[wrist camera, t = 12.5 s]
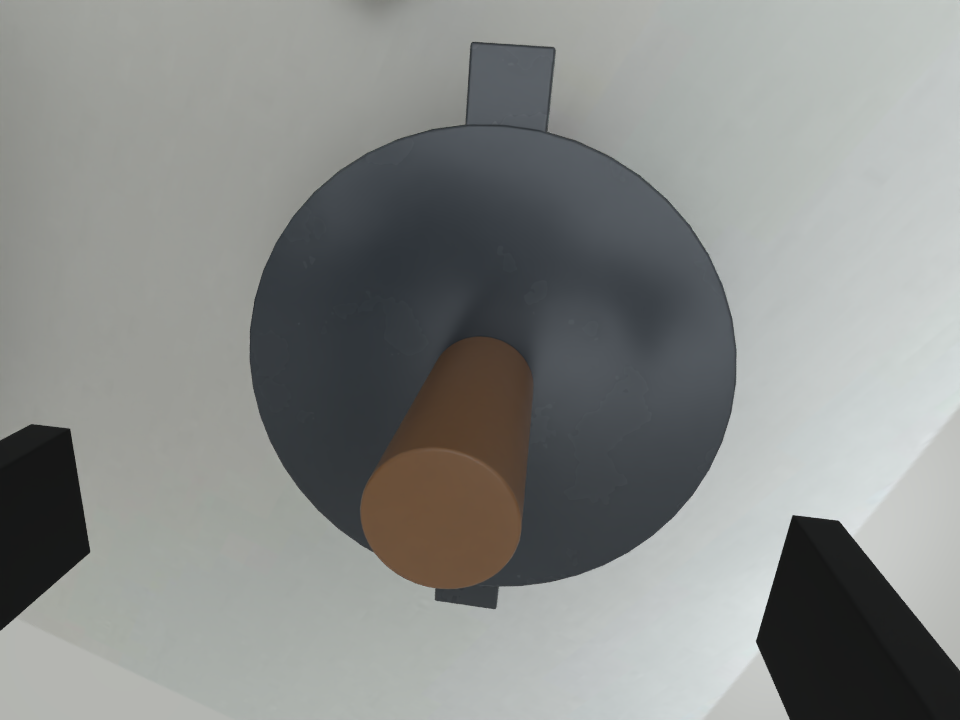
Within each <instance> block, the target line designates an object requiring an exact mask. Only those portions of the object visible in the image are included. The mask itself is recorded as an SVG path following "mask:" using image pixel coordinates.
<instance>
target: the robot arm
mask: <svg viewBox="0 0 960 720" xmlns="http://www.w3.org/2000/svg"><path fill="white" fill-rule="evenodd" d="M89 553H90V547H89V541H88V535H87V529H86V523H85V517H84V511H83V505H82V498H81V492H80V486H79V480H78V474H77V468H76V462H75V456H74V450H73V444H72V438H71V431H70V429H68V428H59V427H51V426H43V425H34V424H31V425H29V426H27V427H25V428H23V429H21V430H19V431H18V432H16V433H14V434H12V435H10V436H8V437H6V438H4V439H2V440H0V630H2V629H3V628H4V627H5V626H6V625H8V624H9V623H10V622H11V621H12V620H13V619H14V618H16V617H17V616H18V615H19V614H20V613H21V612H22V611H24V610H25V609H26V608H27V607H28V606H29V605H30V604H32V603H33V602H34V601H35V600H36V599H37V598H38V597H40V596H41V595H42V594H43V593H44V592H45V591H46V590H48V589H49V588H50V587H51V586H52V585H53V584H54V583H56V582H57V581H58V580H59V579H60V578H61V577H62V576H64V575H65V574H66V573H67V572H68V571H69V570H70V569H72V568H73V567H74V566H75V565H76V564H77V563H78V562H80V561H81V560H82V559H83V558H84V557H85V556H86V555H88V554H89ZM756 643H757V645H758V647H759V650H760V652H761V654H762V656H763V659H764V661H765V664H766V666H767V668H768V670H769V673H770V674H771V677H772V680H773V682H774V684H775V686H776V689H777V691H778V693H779V696H780V698H781V700H782V703H783V705H784V707H785V709H786V712H787V714H788V716H789V719H790V720H960V671H959V669H958V668H957V667H956V665H955V664H954V663H953V662H952V661H951V659H950V658H949V657H948V656H947V655H946V653H945V652H944V651H943V649H942V648H941V647H940V646H939V644H938V643H937V642H936V641H935V639H934V638H933V637H932V636H931V635H930V633H929V632H928V631H927V630H926V628H925V627H924V626H923V625H922V623H921V622H920V621H919V620H918V618H917V617H916V616H915V615H914V614H913V612H912V611H911V610H910V609H909V607H908V606H907V605H906V603H905V602H904V601H903V600H902V599H901V597H900V596H899V595H898V594H897V593H896V591H895V590H894V589H893V587H892V586H891V585H890V584H889V583H888V581H887V580H886V579H885V577H884V576H883V575H882V574H881V573H880V571H879V570H878V569H877V568H876V566H875V565H874V564H873V563H872V561H871V560H870V559H869V558H868V557H867V555H866V554H865V553H864V552H863V550H862V549H861V548H860V546H859V545H858V544H857V543H856V542H855V540H854V539H853V538H852V537H851V535H850V534H849V533H848V532H847V530H846V529H845V528H844V527H843V525H842V524H841V523H840V522H839V521H837V520H828V519H820V518H811V517H803V516H795V515H793V516H792V519H791V522H790V526H789V529H788V533H787V536H786V540H785V543H784V547H783V550H782V554H781V557H780V561H779V564H778V567H777V571H776V574H775V578H774V581H773V585H772V588H771V592H770V595H769V599H768V602H767V605H766V609H765V612H764V616H763V619H762V623H761V626H760V630H759V633H758V637H757V640H756Z"/></svg>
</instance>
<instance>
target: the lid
mask: <svg viewBox="0 0 960 720" xmlns="http://www.w3.org/2000/svg"><path fill="white" fill-rule="evenodd" d="M250 365H251V373H252V382H253V389H254V393H255V397H256V401H257V405H258V409H259V413H260V416H261V419H262V421H263V424H264V426H265V429H266V432H267V434H268V437H269V439H270V442H271V444H272V445H273V447H274V449H275V451H276V453H277V455H278V457H279V459H280V460H281V462H282V464H283V466H284V468H285V469H286V470H287V472H288V473H289V475H290V476H291V478H292V479H293V480H294V482H295V483H296V485H297V486H298V488H299V489H300V490H301V491H302V493H303V494H304V495H305V496H306V497H307V498H308V499H309V500H310V502H311V503H312V504H313V505H314V506H315V507H316V508H317V510H318V511H320V512H321V513H322V514H323V515H324V516H325V517H326V518H327V519H328V520H329V521H331V522H332V523H333V524H334V525H335V526H336V527H337V528H338V529H340V530H341V531H342V532H344V533H345V534H346V535H348V536H349V537H351V538H352V539H353V540H355V541H356V542H358V543H359V544H360V545H362V546H363V547H365V548H367V549H369V550H370V551H372V552H374V553H375V554H376V555H377V556H378V558H379V559H380V560H381V561H382V562H383V563H384V564H385V565H386V566H387V567H388V568H390V569H391V570H392V571H394V572H395V573H397V574H398V575H400V576H402V577H403V578H405V579H407V580H409V581H412V582H414V583H417V584H420V585H423V586H427V587H432V588H439V589H458V588H465V587H469V586H473V585H482V586H493V587H494V586H524V585H532V584H540V583H547V582H552V581H556V580H560V579H564V578H568V577H572V576H576V575H579V574H582V573H584V572H587V571H590V570H592V569H595V568H597V567H600V566H603V565H605V564H607V563H609V562H611V561H613V560H614V559H616V558H618V557H620V556H622V555H624V554H626V553H628V552H630V551H631V550H632V549H634V548H635V547H637V546H638V545H640V544H641V543H643V542H644V541H646V540H647V539H648V538H650V537H651V536H653V535H654V534H655V533H656V532H657V531H658V530H659V529H661V528H662V527H663V526H664V525H665V524H666V523H667V522H668V521H669V520H671V519H672V518H673V517H674V516H675V515H676V514H677V512H678V511H679V510H680V509H681V508H682V507H683V505H684V504H685V503H686V502H687V501H688V500H689V498H690V497H691V496H692V495H693V494H694V492H695V491H696V489H697V487H698V486H699V484H700V483H701V481H702V480H703V478H704V477H705V475H706V474H707V472H708V471H709V469H710V467H711V465H712V462H713V460H714V458H715V456H716V454H717V452H718V450H719V448H720V446H721V443H722V441H723V438H724V434H725V431H726V428H727V425H728V421H729V418H730V415H731V411H732V405H733V398H734V392H735V386H736V343H735V336H734V328H733V321H732V316H731V312H730V309H729V305H728V302H727V298H726V295H725V291H724V288H723V285H722V283H721V281H720V278H719V276H718V274H717V272H716V270H715V267H714V265H713V263H712V261H711V259H710V256H709V254H708V253H707V251H706V250H705V248H704V247H703V245H702V244H701V242H700V240H699V239H698V237H697V236H696V234H695V233H694V231H693V230H692V228H691V226H690V225H689V224H688V223H687V222H686V220H685V219H684V218H683V217H682V216H681V215H680V214H679V212H678V211H677V210H676V209H675V208H674V207H673V206H672V204H671V203H670V202H669V201H668V200H667V199H666V198H665V197H664V196H663V195H662V194H660V193H659V192H658V191H657V190H656V189H655V188H654V187H652V186H651V185H650V184H649V183H648V182H647V181H645V180H644V179H643V178H642V177H641V176H640V175H638V174H637V173H635V172H633V171H632V170H630V169H629V168H627V167H626V166H624V165H622V164H621V163H619V162H618V161H616V160H615V159H613V158H612V157H610V156H608V155H606V154H604V153H602V152H600V151H597V150H595V149H593V148H591V147H589V146H586V145H584V144H582V143H580V142H578V141H575V140H572V139H569V138H565V137H562V136H559V135H555V134H552V133H549V132H545V131H542V130H536V129H530V128H523V127H516V126H510V125H473V124H468V125H460V126H453V127H446V128H438V129H432V130H428V131H425V132H421V133H418V134H414V135H411V136H407V137H404V138H400V139H397V140H395V141H393V142H391V143H388V144H386V145H384V146H382V147H380V148H377V149H375V150H373V151H371V152H368V153H367V154H365V155H363V156H362V157H360V158H359V159H357V160H355V161H354V162H352V163H351V164H349V165H348V166H346V167H344V168H343V169H341V170H340V171H338V172H337V173H336V174H335V175H334V176H333V177H331V178H330V179H329V180H328V181H327V182H326V183H324V184H323V185H322V186H321V187H320V188H319V189H317V190H316V191H315V192H314V193H313V194H312V195H311V196H310V198H309V199H308V200H307V201H306V202H305V203H304V204H303V206H302V207H301V208H300V209H299V210H298V211H297V213H296V214H295V215H294V216H293V217H292V219H291V220H290V222H289V224H288V225H287V227H286V228H285V230H284V231H283V233H282V234H281V236H280V238H279V239H278V241H277V242H276V244H275V246H274V248H273V251H272V253H271V255H270V257H269V259H268V262H267V264H266V266H265V268H264V270H263V273H262V277H261V280H260V284H259V287H258V290H257V294H256V297H255V301H254V308H253V314H252V321H251V327H250Z"/></svg>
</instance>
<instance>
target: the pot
mask: <svg viewBox="0 0 960 720" xmlns="http://www.w3.org/2000/svg"><path fill="white" fill-rule="evenodd" d="M555 53H556V50H555V48H554V47H544V46H529V45H514V44H498V43H483V42H472V43H471V46H470V62H469V77H468V93H467V108H466V124H465V125H468V124H473V125H510V126H516V127H523V128H530V129H536V130H542V131H545V132H547V130H548V121H549V111H550V102H551V92H552V83H553V74H554V64H555ZM498 591H499V586H494V587H493V586H482V585H473V586H469V587H465V588H458V589H439V588H436V589H435V600H436V601H442V602H449V603H456V604H463V605H470V606H476V607H483V608H490V609H496V607H497V599H498Z"/></svg>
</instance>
